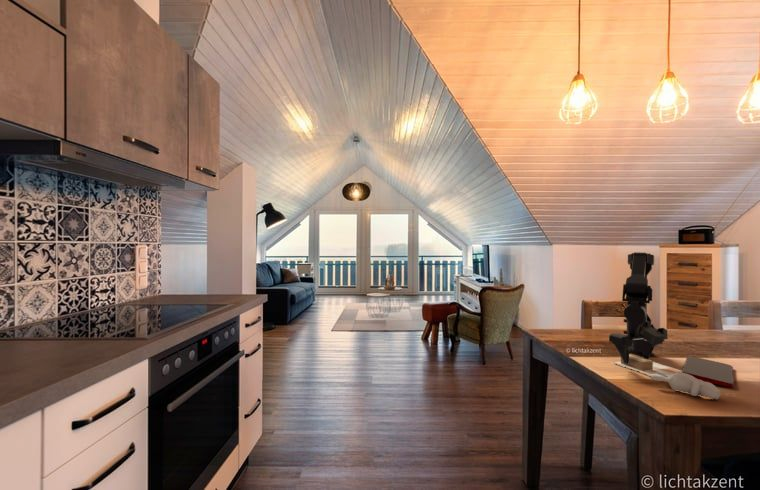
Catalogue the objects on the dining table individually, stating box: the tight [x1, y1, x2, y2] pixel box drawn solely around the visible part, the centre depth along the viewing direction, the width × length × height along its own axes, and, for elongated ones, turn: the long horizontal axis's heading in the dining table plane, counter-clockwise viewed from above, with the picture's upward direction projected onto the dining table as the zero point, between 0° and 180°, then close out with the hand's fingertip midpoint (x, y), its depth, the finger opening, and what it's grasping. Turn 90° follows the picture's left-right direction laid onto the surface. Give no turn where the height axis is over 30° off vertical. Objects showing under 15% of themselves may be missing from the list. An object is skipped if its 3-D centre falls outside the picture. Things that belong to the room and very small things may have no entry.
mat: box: [613, 361, 683, 377], centre depth 123 cm, size 17×14×1 cm
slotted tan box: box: [620, 353, 654, 371], centre depth 125 cm, size 8×4×3 cm, turn 16°
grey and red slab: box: [681, 355, 735, 388], centre depth 120 cm, size 12×2×25 cm
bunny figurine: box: [650, 370, 722, 401], centre depth 105 cm, size 10×5×15 cm
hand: (636, 362), depth 125 cm, fingers open, 9 cm apart
